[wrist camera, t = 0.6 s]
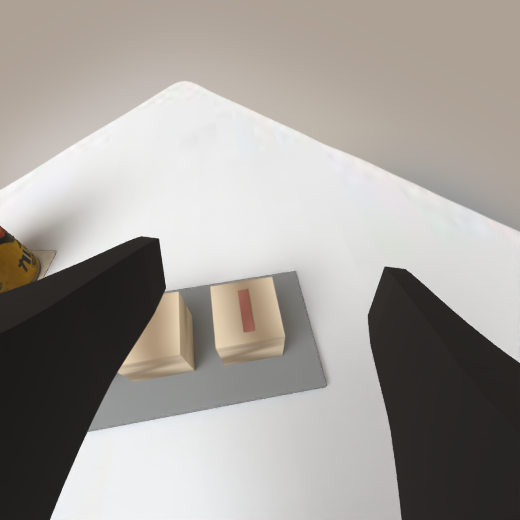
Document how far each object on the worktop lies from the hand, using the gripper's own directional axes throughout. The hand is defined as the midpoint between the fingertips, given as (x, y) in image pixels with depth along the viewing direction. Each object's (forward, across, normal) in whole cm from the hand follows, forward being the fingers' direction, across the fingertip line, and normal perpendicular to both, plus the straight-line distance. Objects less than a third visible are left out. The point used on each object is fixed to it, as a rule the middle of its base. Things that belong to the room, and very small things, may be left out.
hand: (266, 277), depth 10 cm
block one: (+11, +2, +14) cm, 18 cm away
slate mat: (+9, +9, +16) cm, 20 cm away
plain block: (+9, +9, +16) cm, 20 cm away
